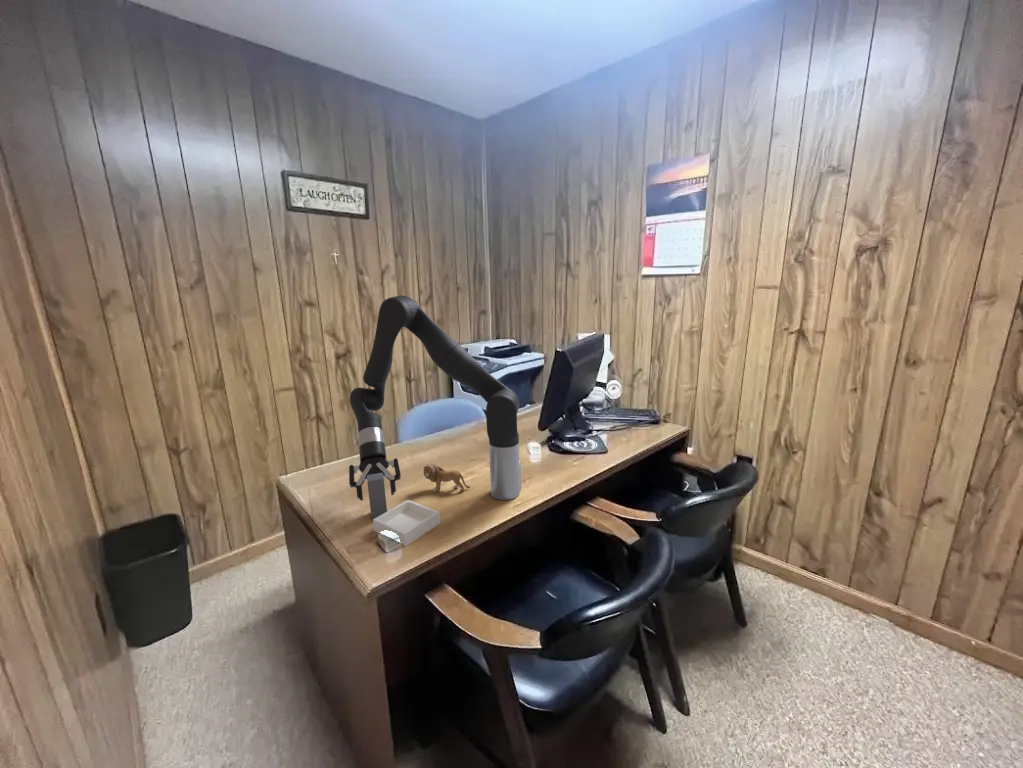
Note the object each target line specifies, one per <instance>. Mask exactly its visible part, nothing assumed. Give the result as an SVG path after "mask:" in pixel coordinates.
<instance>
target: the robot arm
mask: <svg viewBox="0 0 1023 768" xmlns="http://www.w3.org/2000/svg"><path fill="white" fill-rule="evenodd" d="M402 328H405V329H407V330H408V331H410V332H411V333H412V334H413V335H414V336H416V337H417V338H418V339H419V340H420V342H421V343H422V345H423V346H424V348H425V350H426V352H427V354H428V356H429V357H430V359H431V361H432V362H433V363H434V364H435V365H436V367H438V368H439V369H440V370H441V371H443V373H444V374H446V375H447V376H448V377H450V378H451V380H454V381H456V382H457V383H460V384H462V385H464V386H465V387H468V388H470V389H471V390H472V391H474V392H475V393H476V394H478V395H479V396H480V397H481V398H482V399H483V400H485V402H486V407H485V419H486V420H485V421H486V433H487V437H488V446H489V448H488V450H489V477H490V478H489V479H490V481H489V482H490V495H491V496H492V497H493V498H494V499H496V500H500V501H501V500H502V501H509V500H513V499H516V498H518V497H519V495H520V493H521V490H522V476H521V475H522V471H521V470H522V465H521V461H520V434H519V432H518V412H519V409H520V406H521V405H520V398H519V397H518V395H517V394H516V393H515V392H514V391H513V390H512V389H510V388H509V387H508V386H506V385H505V384H504V383H502V382H501V381H499V380H498V379H497V378H496V377H495V376H493V375H492V374H491V373H490V372H489V371H488V370H487V369H485V368H484V366H482V365H481V364H480V363H479V362H478V361H477V360H476V359H475V358H474V357H473V356H472V355H471V354H470V353H469V352H468V351H467V350H466V349H465V348H463V346H462V345H460V344H459V343H458V342H457V341H456V340H455V339H453V338H452V337H451V335H449V334H448V333H447V332H446V331H444V330H443V329H442V328H441V327H440V326H439V325H437V323H436V322H434V321H433V320H432V319H431V318H430V317H429V316H428V314H427V313H426V312H425V311H424V310H423V308H422V307H420V305H419V304H418V303H417V302H416V301H415V300H414V299H412V297H409V296H407V295H395V296H392V297H388V298H386V299H384V300H383V301H382V303H381V304H380V306H379V311H378V317H377V323H376V329H375V334H374V341H373V345H372V348H371V352H370V356H369V357H368V358H369V359H368V361H367V365H366V366H365V367H366V368H365V370H364V373H363V376H362V381H363V382H364V383H365V384H366V385H367V386H369V387H371V388H367V387H355V388H354V389H353V390H352V391H351V392H350V394H349V404H350V407H351V409H352V412H353V413H354V414H353V415H354V416H355V419H356V422H357V429H358V430H357V431H358V450H359V461H360V462H359V465H354V464H353V465H352V464H351V465H349V466H348V470H349V471H348V475H349V476H348V481H349V482H348V484H349V487H350V488H355V489H356V495H357V496H356V497H357V499H358V500H359V501H363V500H364V498H363V497H364V496H363V487H362V486H363V485H364V483H365V482H367V475H371V474H377V473H383V477H384V479H386V480H388V482H389V485H390V494H391V496H395V495H394V494H395V493H396V492H397V491H396V490H397V487H396V481H398V480H401V479H402V478H401V471H400V465H399V459H398V458H393V460H388V459H387V451H386V442H385V436H384V432H383V431H384V430H383V425H382V423H383V422H382V419H381V416H380V414H379V413H377V412H374V411H379V410H381V409H382V408H383V406H384V404H385V391H386V390H385V389H386V383H387V379H388V377H389V374H390V372H391V368H392V365H393V358H394V357H393V356H394V355H393V351H394V346H395V342H396V339H397V337H398V335H399V334H400V332H401V329H402ZM390 466H391V468H393V469H394V473H395V475H393V474H392V473H391V472H390V471H389V470H388V468H389V467H390ZM358 471H360V472H361V475H360V476H359V478H358V480H357V481H355V474H357V473H358Z"/></svg>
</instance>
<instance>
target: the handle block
mask: <svg viewBox="0 0 1023 768" xmlns="http://www.w3.org/2000/svg"><path fill="white" fill-rule="evenodd" d="M366 482H367V491H368V498H369V499H368V500H369V508H370V516H371V521H373V519H375V518H377V517H379V516H380V515H382V514H384V513H386V512H387V511H388V509H387V497H386V488H385V477H384V476H383V473H377V474H371V475H367V479H366Z"/></svg>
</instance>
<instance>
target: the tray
mask: <svg viewBox="0 0 1023 768" xmlns="http://www.w3.org/2000/svg"><path fill="white" fill-rule="evenodd" d="M440 515H441V512H440V511H439V510H435V509H433V508H431V507H428V506H425V505H423V504H420V503H417V502H415V501H413V500H410V499H407V500H405V501H404V502H402V503H400V504H398V505H397V506H395V507H393V508H391V509H389V510H387V512H386V513H384V514H382V515H380V516H379V517H377V518H375V519H373V520H372V523H373V531H374V532H375V533H378V534H379V532H381V531H384V530H388V531H392V532H394V533H396V534H397V535H398V536H399V539H400V542H401V544H400V545H403V546H404V547H407V546H409V545H410V544H411V543H413V542H415V541H416V540H417V539H419V538H421V537H422V536H423V535H425V534H426V533H428V532H429V531H431V530H432V529H434V528H436V527H437V526H438V525H440V524H441V516H440Z"/></svg>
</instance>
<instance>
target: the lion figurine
mask: <svg viewBox="0 0 1023 768" xmlns="http://www.w3.org/2000/svg"><path fill="white" fill-rule="evenodd" d="M423 476H424V477H425V479H427V480H430V482H432V483H435V484H436V486H435V488H436V489H435V491H436V493H438V492H440V491H441V483H442V482H443V483H448V482H449V483H450V482H451V481H453V483H454V484H455V485H453V486H454V488H455V489H457V488H460V490H459V492H460V494H461V493H464V492H465V488H467V489H470V488H471V487H470V486H469V485H466V481H465V479H464V477H463V475H462V473H461V472H460V471H458V470H455V469H453V470H444V469H443V468H442V467H440V466H438V465H437V466H436V464H432V463H429V464H428V463H427V464H425V466H423ZM460 479H461V480H460ZM461 482H462V483H461Z"/></svg>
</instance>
